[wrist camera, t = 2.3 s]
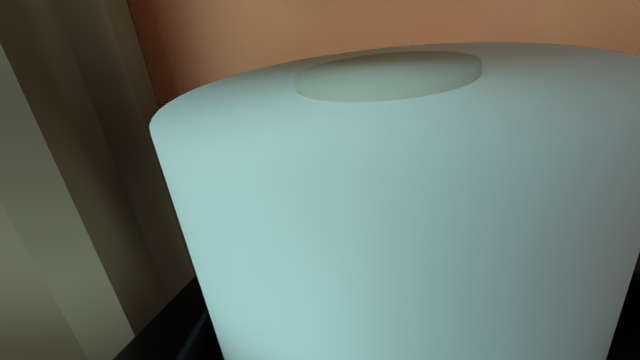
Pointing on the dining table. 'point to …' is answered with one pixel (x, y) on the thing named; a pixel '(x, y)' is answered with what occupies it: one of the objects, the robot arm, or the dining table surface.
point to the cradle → (80, 184)
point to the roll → (412, 202)
